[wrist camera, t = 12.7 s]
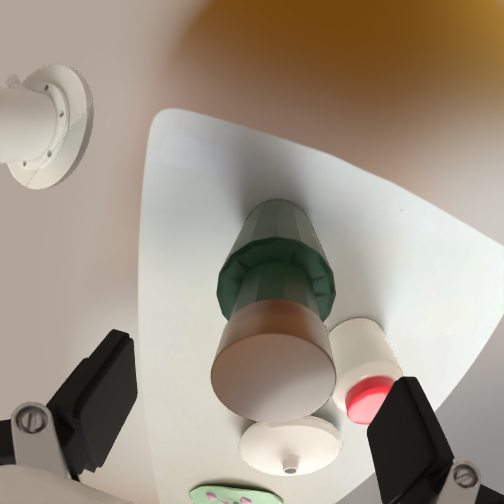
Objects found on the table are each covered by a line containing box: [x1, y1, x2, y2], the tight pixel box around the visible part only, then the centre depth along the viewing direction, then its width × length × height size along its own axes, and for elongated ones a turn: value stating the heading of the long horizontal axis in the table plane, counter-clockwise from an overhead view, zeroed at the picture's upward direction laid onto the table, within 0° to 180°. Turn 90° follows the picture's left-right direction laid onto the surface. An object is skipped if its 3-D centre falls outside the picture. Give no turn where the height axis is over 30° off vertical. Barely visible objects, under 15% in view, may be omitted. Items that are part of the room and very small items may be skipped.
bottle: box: [216, 199, 336, 322], centre depth 22 cm, size 7×7×20 cm
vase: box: [238, 416, 343, 476], centre depth 38 cm, size 16×16×7 cm
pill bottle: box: [328, 318, 404, 424], centre depth 30 cm, size 8×8×11 cm
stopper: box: [211, 299, 337, 423], centre depth 14 cm, size 5×5×7 cm
